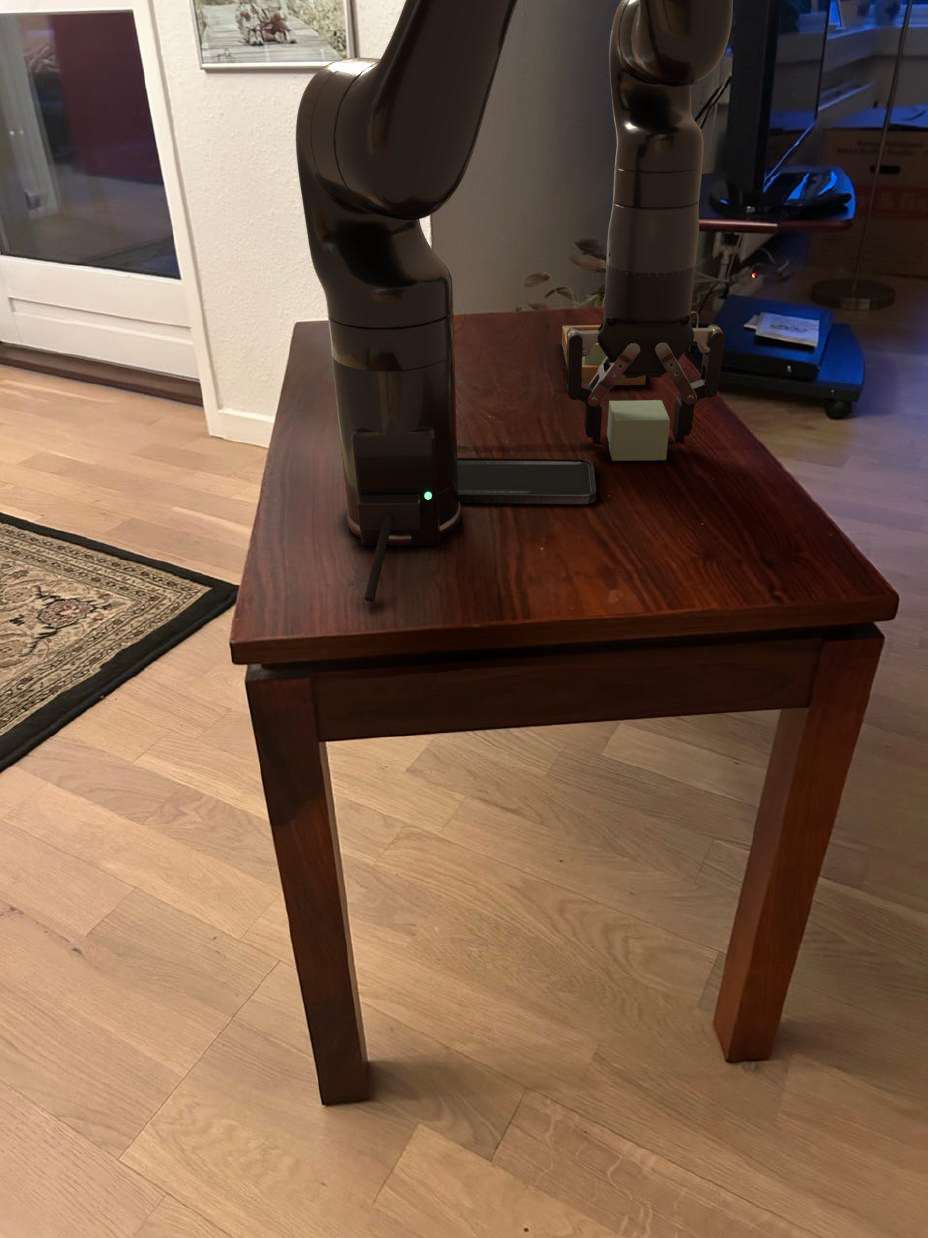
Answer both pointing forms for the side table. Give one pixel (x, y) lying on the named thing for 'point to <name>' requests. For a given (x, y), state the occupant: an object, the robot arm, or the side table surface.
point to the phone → (526, 481)
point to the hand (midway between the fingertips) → (636, 439)
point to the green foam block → (594, 356)
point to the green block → (638, 430)
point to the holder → (591, 370)
